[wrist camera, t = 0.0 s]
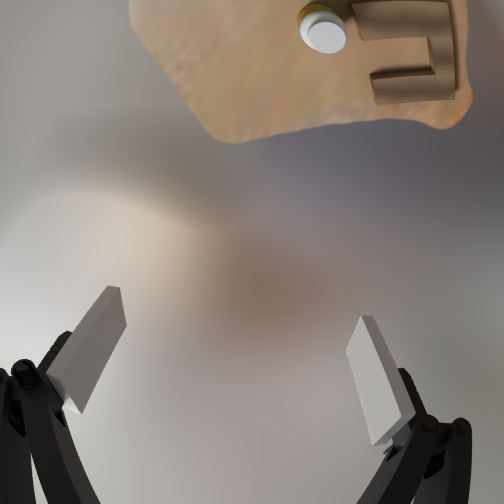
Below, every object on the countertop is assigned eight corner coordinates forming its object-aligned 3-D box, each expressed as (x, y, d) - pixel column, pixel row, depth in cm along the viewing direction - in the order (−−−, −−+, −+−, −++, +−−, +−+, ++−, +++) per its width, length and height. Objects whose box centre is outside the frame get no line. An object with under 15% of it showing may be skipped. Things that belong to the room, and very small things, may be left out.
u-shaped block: (348, 2, 22) (351, 4, 21) (440, -1, 16) (447, 2, 15) (374, 99, 35) (377, 105, 34) (449, 93, 30) (454, 99, 29)
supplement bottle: (336, 4, 22) (353, 17, 18) (337, 37, 27) (352, 60, 22) (295, 3, 23) (299, 15, 19) (298, 36, 28) (303, 58, 23)
